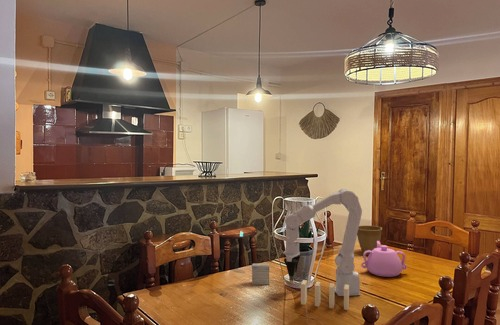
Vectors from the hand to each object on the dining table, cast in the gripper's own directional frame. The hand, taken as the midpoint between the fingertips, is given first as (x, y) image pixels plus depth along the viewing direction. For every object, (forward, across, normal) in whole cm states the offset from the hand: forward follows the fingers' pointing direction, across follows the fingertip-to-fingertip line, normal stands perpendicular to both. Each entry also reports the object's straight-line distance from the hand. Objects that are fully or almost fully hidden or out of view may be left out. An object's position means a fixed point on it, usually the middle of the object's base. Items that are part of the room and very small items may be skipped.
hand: (292, 273), depth 155 cm
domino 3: (+8, +9, +12) cm, 17 cm away
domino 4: (+8, +9, +17) cm, 21 cm away
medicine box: (+8, -6, -16) cm, 19 cm away
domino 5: (+8, +9, +23) cm, 26 cm away
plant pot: (+8, -75, +31) cm, 82 cm away
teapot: (+8, -42, +38) cm, 57 cm away
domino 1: (+2, 0, 0) cm, 2 cm away
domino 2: (+8, +9, +6) cm, 14 cm away
